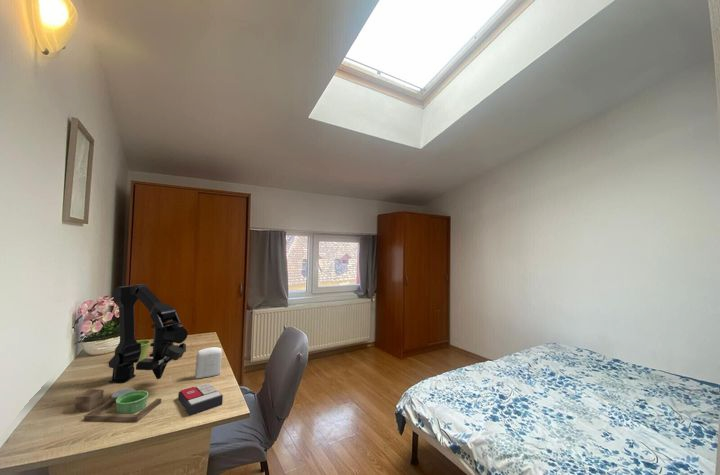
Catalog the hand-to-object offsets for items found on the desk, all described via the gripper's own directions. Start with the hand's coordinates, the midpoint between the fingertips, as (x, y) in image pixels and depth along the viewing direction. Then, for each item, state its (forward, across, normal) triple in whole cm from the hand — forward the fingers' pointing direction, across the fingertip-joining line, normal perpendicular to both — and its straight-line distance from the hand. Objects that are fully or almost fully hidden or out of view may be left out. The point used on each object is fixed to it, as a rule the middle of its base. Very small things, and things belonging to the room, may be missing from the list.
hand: (158, 378), depth 112 cm
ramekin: (+5, -14, 0) cm, 14 cm away
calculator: (+5, -8, -21) cm, 23 cm away
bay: (+4, -15, +1) cm, 16 cm away
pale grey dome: (+4, -4, +10) cm, 12 cm away
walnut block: (+4, -13, +15) cm, 20 cm away
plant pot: (+5, +27, +29) cm, 40 cm away
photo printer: (+4, +14, -13) cm, 19 cm away
